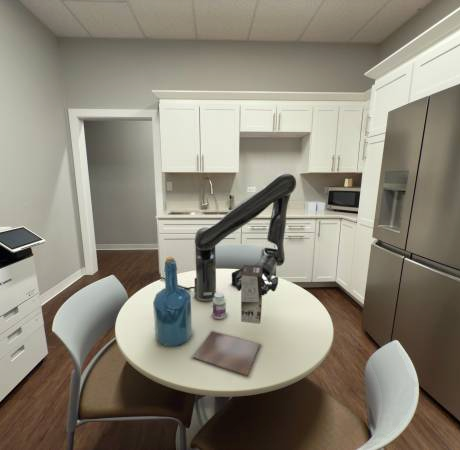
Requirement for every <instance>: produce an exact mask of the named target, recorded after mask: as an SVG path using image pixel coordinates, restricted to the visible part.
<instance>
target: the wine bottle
mask: <svg viewBox="0 0 460 450" xmlns="http://www.w3.org/2000/svg"><path fill="white" fill-rule="evenodd" d="M163 272H164V278H165V280H164V286H165V287H164V288H162V289H161V290H159V291H158V292H157V293H156V294H155V296H154V299H153V303H152V307H153V308H152V309H153V320H154V335H155V338H156V340H157V341H158V342H159V344H160V345H164V346H167V347H171V346H173V347H174V346H179V345H181V344H184V343H186V342H187V341H189V339H190V338H191V336H192V333H193V325H192V324H193V321H192V297H191V294H190V292H188V291H187V289H184V288H181V287H178V285H179V283H178V267H177V261H176V260H175V257H174V256H168V257H166V259H165V261H164V270H163Z"/></svg>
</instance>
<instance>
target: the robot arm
mask: <svg viewBox="0 0 460 450" xmlns="http://www.w3.org/2000/svg"><path fill="white" fill-rule="evenodd" d="M296 187H297V179H296V177H295V176H294V175H293V174H292V173H287V172H286V173H280V174H279V175H278V176H276V177H275V178H274V179H272V181H270V182H269V183H268V184H267V185H266V186H265V187H263V188H262V189H260V190H259V191H257V192H255V193H254V194H252V195H250V196H249V197H247V198H245V199H244V200H242V201H240V202H239V203H238V204H236V205H235V206H233V207H232V208H231V209H230V210H229V211H228V212H226V214H225V215H224V216H223V217H222V218H221V219H220V220H219V221H218V222H216V223H215V224H213V225H211V226H210V227H207V226H206V227H205V226H204V227H200V228H199V229H197V230H196V232H195V236H194V244H195V246H194V247H195V277H194V286H189V287H185V286H182V285H180V284H178V287H181V288H184V289H185V290H192V289H193V292H194V298H195V299H197V300H198V301H201V302H211V301H213V299H214V294H215V293H217V263H216V262H217V259H216V258H217V254H216V246H217V245H218V244H219V243H221V241H223V240H224V239H226V238H227V237H228V236H229V235H231V234H233V233H234V232H236V231H238V230H239V229H241V228H242V227H244V226H245V225H247V224H248V223H250V222H251V221H253V220H254V219H256V218H257V217H258V216H259V215H261V214H262V213H263V212H264V211H265V210H266V209H267V208H268V207H269V206H270V205H272V211H271V214H270V220H269V225H268V231H267V235H266V241H267V242H269V243H271V244H273V245H275V246H276V248H273V247H263V248H262V249H261V250H260V254H259V260H257V261H256V263H254V265H259V266H262V297H263V296H265V295H268V293H269V291H271V292H275V291H276V290H277V288H278V285H279V277H278V276H274V273H275V270H276V269H277V267H281V266H283V265H284V263H285V260H286V259H285V258H286V256H285V248H284V240H285V233H286V226H287V210H288V205H289V201H290V198H291V195H292V194H293V192H295V189H296ZM241 275H242V271H241V272H239V274H238V275H237V276H236V284H237V287H236V290H237V291H238V292H240V291H241V281H242V276H241ZM273 276H274V277H273ZM158 279H159V280H164V281H165V276H164V277H163V276H161V277H159V278H158Z"/></svg>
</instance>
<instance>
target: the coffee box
mask: <svg viewBox="0 0 460 450" xmlns="http://www.w3.org/2000/svg"><path fill="white" fill-rule="evenodd" d="M242 268H243V271H242V275H241V276H242V281H241V290H240V291H241V292H240V293H241V294H240V295H241V296H240V304H241V305H240V322H242V323H247V324H248V323H249V324H258V325H260V324H261V319H262V309H263V307H262V306H263V305H262V304H263V295H262V266H259V265H255V264H243V266H242Z"/></svg>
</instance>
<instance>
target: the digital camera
mask: <svg viewBox="0 0 460 450" xmlns="http://www.w3.org/2000/svg"><path fill="white" fill-rule="evenodd" d="M241 271H243V267H242V268H239V269H237V270H235V271H233V272H231V285H232V286H234V287H236V288H237V284H236V276H237V275H238V274H239V272H241Z"/></svg>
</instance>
